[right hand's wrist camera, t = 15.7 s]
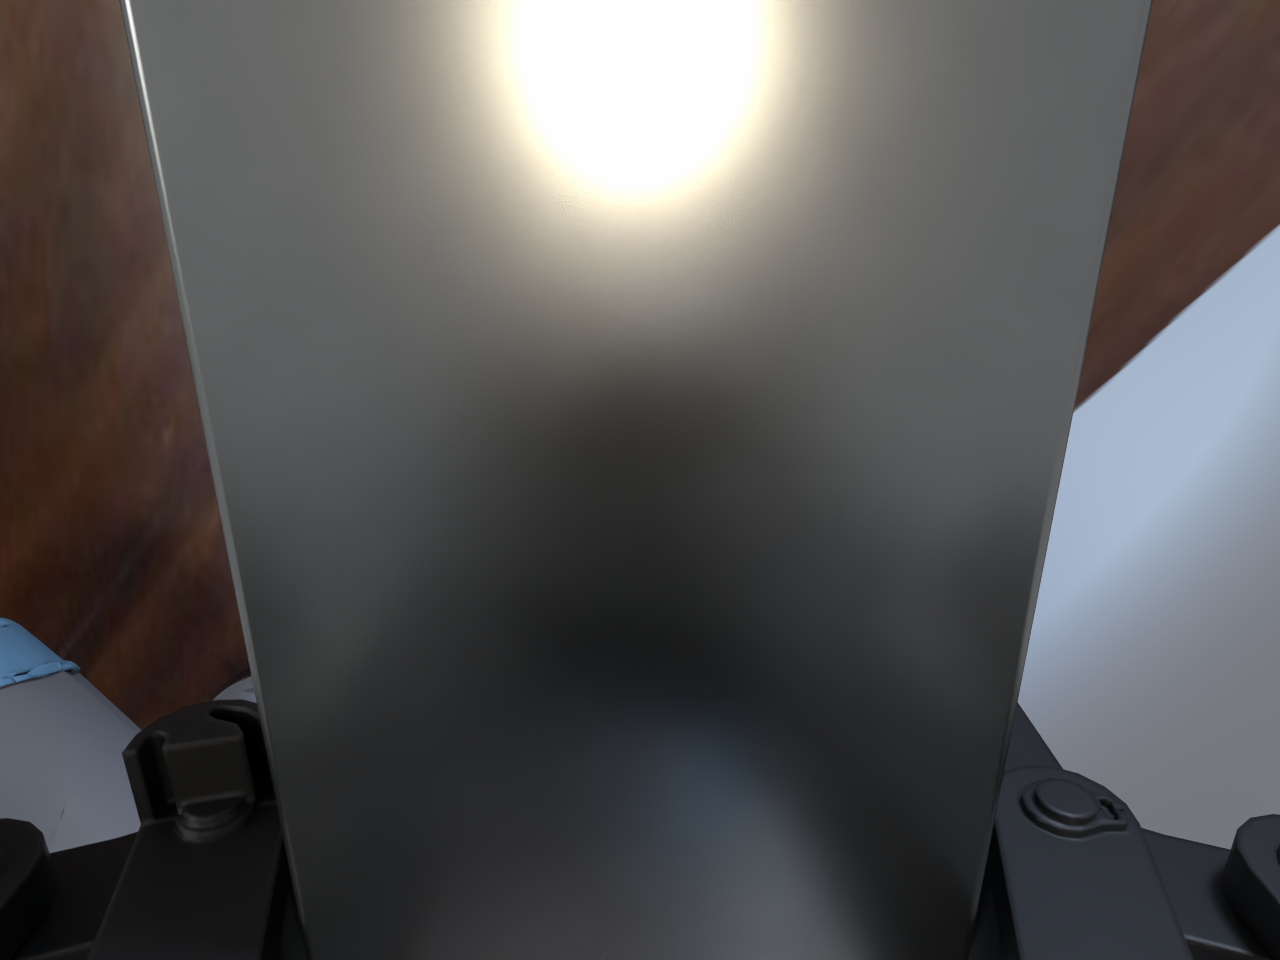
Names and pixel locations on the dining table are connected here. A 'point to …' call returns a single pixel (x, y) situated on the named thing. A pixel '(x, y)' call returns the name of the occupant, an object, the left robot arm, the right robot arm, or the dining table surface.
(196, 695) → the dining table surface
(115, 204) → the dining table surface
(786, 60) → the bar
